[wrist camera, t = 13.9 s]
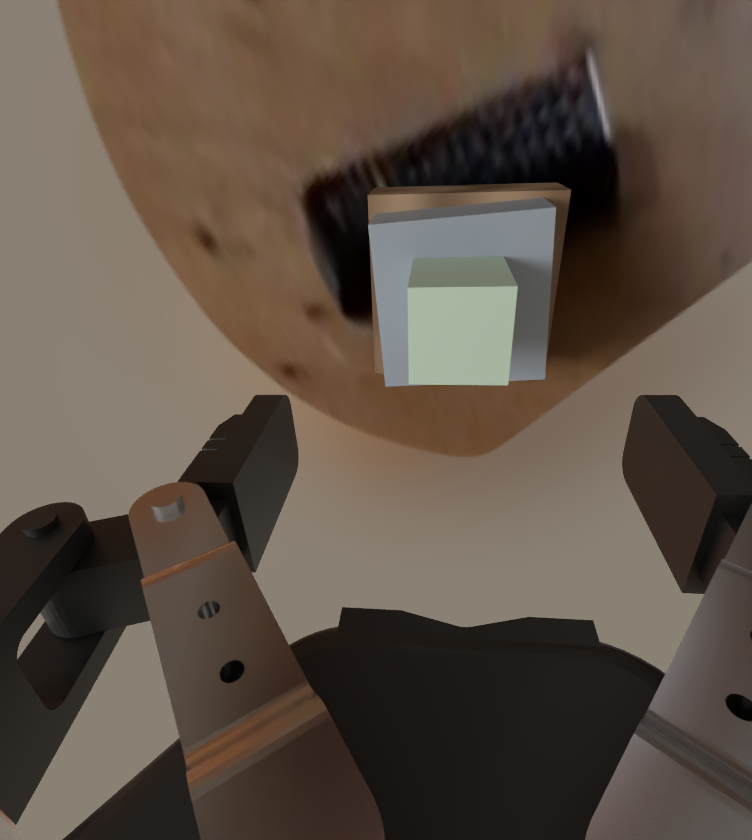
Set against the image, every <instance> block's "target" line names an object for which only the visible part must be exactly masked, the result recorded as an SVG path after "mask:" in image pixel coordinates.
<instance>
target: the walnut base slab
mask: <svg viewBox="0 0 752 840" xmlns="http://www.w3.org/2000/svg"><path fill="white" fill-rule="evenodd" d="M570 195H571V189H569V188H567V187H565V186H563V185H561V184H559V183H524V184H489V185H453V186H417V187H382V188H374V189H373V190H372V191H371V192H370V193H369V194H368V213H369V223H370V222H371V220H372V219H373V217H374V216H375V214H377V213H387V212H397V211H408V210H418V209H428V208H438V207H449V206H459V205H469V204H479V203H490V202H500V201H510V200H521V199H531V198H541V197H543V198H545V199H546V200H547V201H549V202H550V203H551V204H553V205H554V206H555V207H556V217H555V232H554V247H553V263H552V278H551V293H550V309H549V324H548V339H547V354H548V347H549V340H550V333H551V326H552V320H553V313H554V306H555V299H556V292H557V285H558V278H559V271H560V264H561V257H562V250H563V243H564V236H565V229H566V222H567V215H568V208H569V201H570ZM369 238H370V237H369ZM370 262H371V286H372V310H373V334H374V358H375V373H379V374H384V367H383V358H382V349H381V339H380V330H379V321H378V312H377V302H376V293H375V284H374V274H373V265H372V256H371V247H370ZM546 361H547V355H546Z"/></svg>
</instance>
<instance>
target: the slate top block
mask: <svg viewBox="0 0 752 840" xmlns="http://www.w3.org/2000/svg"><path fill="white" fill-rule="evenodd" d="M555 217H556V207H555V206H554V205H553V204H551V203H550V202H549V201H547V200H546V199H545V198H543V197H541V198H531V199H521V200H510V201H500V202H490V203H479V204H469V205H459V206H449V207H438V208H428V209H418V210H408V211H397V212H387V213H377V214H375V216H374V217H373V219H372V220H371V222H370V223H369V224H368V228H369V237H370V247H371V256H372V265H373V274H374V284H375V293H376V302H377V312H378V321H379V330H380V339H381V349H382V358H383V367H384V376H385V386H386V387H387V386H408V385H425V384H409V369H408V283H409V278H410V272H411V267H412V262H413V258H438V257H491V256H504V258H505V260H506V262H507V265H508V267H509V269H510V271H511V273H512V275H513V277H514V279H515V281H516V284H517V286H518V289H517V300H516V310H515V320H514V330H513V340H512V351H511V361H510V371H509V381H516V380H538V379H545V370H546V355H547V339H548V324H549V309H550V293H551V278H552V263H553V247H554V232H555Z"/></svg>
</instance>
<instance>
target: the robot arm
mask: <svg viewBox="0 0 752 840" xmlns="http://www.w3.org/2000/svg"><path fill="white" fill-rule="evenodd" d="M749 457H750V456H749V455H748V454H747V453H746V452H745V451H744V450H743V449H742V447H738V443H737V442H736V441H735V440H734V439H733V438H732V437H731V436H730V434H729V433H728V432H727V431H726V430H725V429H723V428H721V427H720V426H718V425H716V424H715V423H713V422H711V421H709V420H708V419H706V418H704V417H697V416H696V415H695V414H694V413H693V412H692V411H691V410H690V408H689V407H688V406H687V405H686V404H685V403H684V401H683V400H682V399H681V398H680V397H679V396H677V395H640V396H639V397H638V398H637V399H636V401H635V403H634V407H633V411H632V416H631V420H630V425H629V429H628V434H627V438H626V443H625V447H624V452H623V459H622V467H623V474H624V478H625V481H626V483H627V485H628V487H629V489H630V491H631V493H632V495H633V497H634V499H635V501H636V503H637V505H638V506H639V509H640V511H641V513H642V515H643V517H644V519H645V521H646V523H647V525H648V526H649V529H650V530H651V532H652V534H653V536H654V538H655V540H656V542H657V544H658V546H659V548H660V550H661V552H662V554H663V556H664V558H665V560H666V562H667V564H668V566H669V568H670V570H671V572H672V573H673V576H674V578H675V580H676V582H677V584H678V586H679V588H680V590H681V592H682V593H698V594H704V596H703V598H702V600H701V602H700V604H699V606H698V608H697V610H696V612H695V614H694V616H693V618H692V620H691V622H690V625H689V627H688V629H687V631H686V633H685V635H684V637H683V639H682V641H681V643H680V645H679V647H678V649H677V651H676V653H675V655H674V657H673V659H672V661H671V663H670V665H669V667H668V669H667V672H666V673H663V672H662V671H661V670H659V669H658V668H656V667H654V666H652V665H651V664H649V663H647V662H646V661H644V660H643V659H641V658H639V657H637V656H635V655H632V654H630V653H628V652H626V651H624V650H621V649H619V648H616V647H613V646H611V645H608V644H605V643H602V642H599V639H598V635H597V633H596V629H595V625H594V622H593V620H574V619H555V618H536V617H535V618H534V617H526V618H520V619H515V620H509V621H503V622H498V623H491V624H486V625H480V626H474V627H459V626H454V625H451V624H448V623H444V622H440V621H437V620H433V619H430V618H426V617H423V616H419V615H416V614H412V613H408V612H405V611H401V610H383V609H363V608H345V607H344V608H343V607H342V611H341V616H340V621H339V626H338V627H334V628H329V629H326V630H322V631H319V632H316V633H313V634H311V635H308V636H306V637H303V638H302V639H299V640H298V641H296V642H294V643H292V644H290V645H289V644H288V642H287V640H286V639H285V636H284V635H283V633H282V631H281V629H280V627H279V625H278V623H277V621H276V619H275V617H274V615H273V613H272V611H271V610H270V607H269V605H268V604H267V601H266V600H265V598H264V596H263V594H262V592H261V590H260V588H259V586H258V584H257V582H256V580H255V578H254V576H253V574H252V572H256V570H257V567H258V565H259V562H260V560H261V558H262V555H263V553H264V550H265V548H266V545H267V543H268V541H269V538H270V536H271V533H272V531H273V528H274V526H275V524H276V521H277V519H278V516H279V514H280V512H281V509H282V507H283V504H284V502H285V499H286V497H287V494H288V492H289V490H290V487H291V485H292V483H293V480H294V478H295V475H296V472H297V468H298V446H297V440H296V435H295V428H294V422H293V416H292V410H291V404H290V400H289V398H288V396H287V395H256V396H254V398H253V399H252V401H251V402H250V404H249V405H248V406H247V408H246V409H245V411H244V413H243V414H242V415H233V416H232V417H231V418H229V419H228V420H226V421H225V422H223V423H222V424H220V425H219V426H218V427H217V428H216V430H215V431H214V433H213V434H212V435H211V437H210V440H209V441H207V442H206V443H205V445H204V446H203V448H202V451H200V452H199V453H198V455H197V456H196V457H195V459H194V460H193V461H192V463H191V464H190V465H189V467H188V468H187V469H186V471H185V472H184V474H183V475H182V476H181V478H180V479H179V481H178V482H175V483H169V484H166V485H162V486H159V487H156V488H154V489H152V490H150V491H148V492H146V493H145V494H143V495H142V496H141V497H139V498H138V499H137V500H136V501H135V502H134V503H133V505H132V506H131V508H130V510H129V514H127V515H123V516H117V517H112V518H107V519H101V520H96V521H91V522H89V521H88V519H87V516H86V514H85V512H84V510H83V508H82V507H81V506H79V505H77V504H75V503H70V502H61V503H54V504H49V505H45V506H42V507H39V508H36V509H35V510H32V511H30V512H28V513H26V514H24V515H22V516H21V517H19V518H17V519H16V520H15V521H14V522H12V523H11V524H10V525H9V526H8V527H6V528H5V529H4V531H2V532H1V534H0V840H20V835H19V832H18V829H17V827H16V824H17V822H18V820H19V819H20V817H21V815H22V813H23V811H24V810H25V808H26V806H27V804H28V802H29V801H30V799H31V797H32V795H33V793H34V792H35V790H36V788H37V786H38V784H39V783H40V781H41V779H42V777H43V775H44V773H45V772H46V770H47V768H48V766H49V764H50V763H51V761H52V759H53V757H54V755H55V754H56V752H57V750H58V748H59V746H60V745H61V743H62V741H63V739H64V737H65V736H66V734H67V732H68V730H69V728H70V727H71V724H72V723H73V721H74V719H75V718H76V716H77V714H78V712H79V710H80V709H81V707H82V705H83V703H84V701H85V700H86V698H87V696H88V694H89V692H90V691H91V689H92V687H93V685H94V683H95V682H96V680H97V678H98V676H99V674H100V672H101V671H102V669H103V667H104V665H105V663H106V662H107V660H108V658H109V656H110V655H111V653H112V651H113V649H114V647H115V646H116V644H117V642H118V640H119V638H120V636H121V635H122V633H123V631H124V629H125V628H126V626H128V625H133V624H136V623H141V622H145V621H151V624H152V629H153V633H154V637H155V641H156V644H157V649H158V653H159V657H160V661H161V665H162V669H163V673H164V677H165V681H166V685H167V689H168V693H169V697H170V701H171V705H172V709H173V713H174V717H175V721H176V725H177V729H178V733H179V737H180V738H179V739H177V740H176V741H175V742H174V743H173V744H172V745H171V746H170V747H168V748H167V749H166V750H165V751H164V752H163V753H162V754H160V755H159V756H158V757H157V758H156V759H155V760H153V761H152V762H151V763H150V764H149V765H148V766H147V767H145V768H144V769H143V770H142V771H141V772H140V773H139V774H137V775H136V776H135V777H134V778H133V779H132V780H130V781H129V782H128V783H127V784H126V785H125V786H124V787H122V788H121V789H120V790H119V791H118V792H117V793H116V794H114V795H113V796H112V797H111V798H110V799H109V800H108V801H106V802H105V803H104V804H103V805H102V806H101V807H100V808H98V809H97V810H96V811H95V812H94V813H93V814H91V815H90V816H89V817H88V818H87V819H86V820H85V821H83V822H82V824H80V825H79V826H78V827H77V828H75V829H74V830H73V831H72V832H71V833H70V834H69V835H68V836H66V837H65V838H64V839H63V840H752V460H751V459H750V458H749ZM39 613H41V615H42V616H43V618H44V620H45V622H44V624H43V625H42V627H41V628H40V629H39V631H38V632H37V633H36V635H35V636H34V638H33V639H32V640H31V642H30V643H29V644H28V646H27V647H26V649H25V650H24V651H23V653H22V654H21V656H20V657H19V658H18V660H17V651H18V647H19V643H20V641H21V639H22V637H23V635H24V634H25V632H26V631H27V630H28V628H29V627H30V625H31V624H32V623H33V621H34V620H35V619H36V617H37V616H38V615H39Z"/></svg>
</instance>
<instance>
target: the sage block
mask: <svg viewBox="0 0 752 840" xmlns="http://www.w3.org/2000/svg"><path fill="white" fill-rule="evenodd" d="M517 289H518V286H517V284H516V281H515V279H514V277H513V275H512V273H511V271H510V269H509V267H508V265H507V262H506V260H505V258H504V256H491V257H438V258H413V262H412V267H411V272H410V278H409V283H408V369H409V384H425V385H508V381H509V371H510V361H511V351H512V340H513V330H514V320H515V310H516V300H517Z"/></svg>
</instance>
